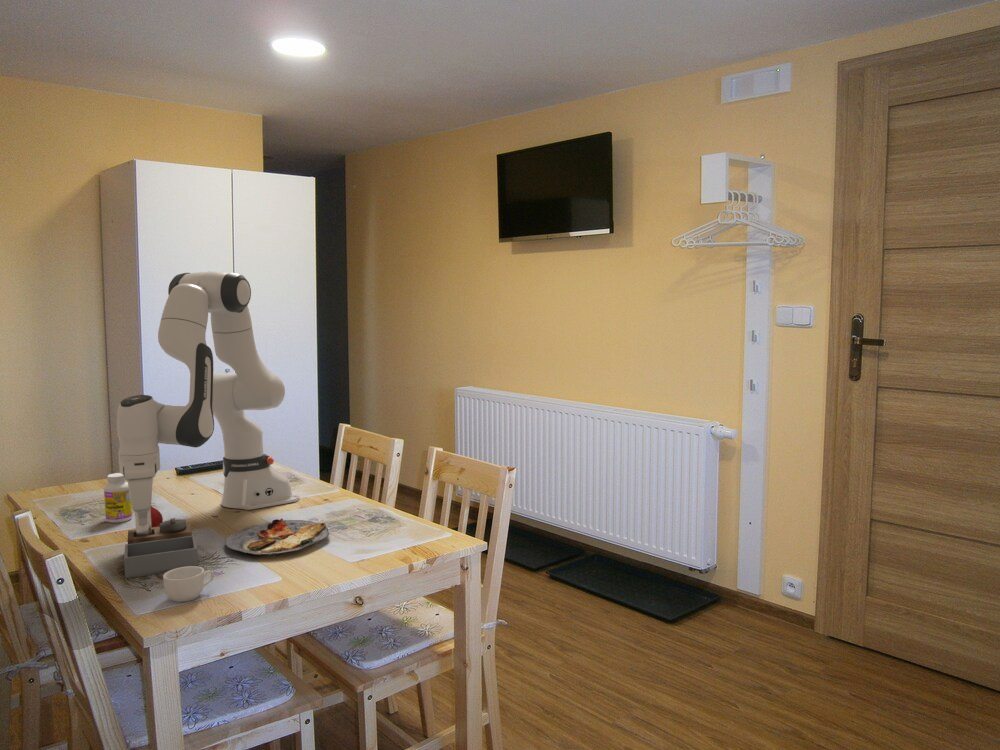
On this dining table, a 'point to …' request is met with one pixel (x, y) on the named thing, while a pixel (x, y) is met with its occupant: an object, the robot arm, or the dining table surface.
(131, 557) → the parts tray
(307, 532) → the food plate
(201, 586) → the teacup
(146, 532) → the pin
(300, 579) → the dining table surface
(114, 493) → the supplement bottle
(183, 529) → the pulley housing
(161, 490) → the dining table surface
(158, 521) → the red round piece
